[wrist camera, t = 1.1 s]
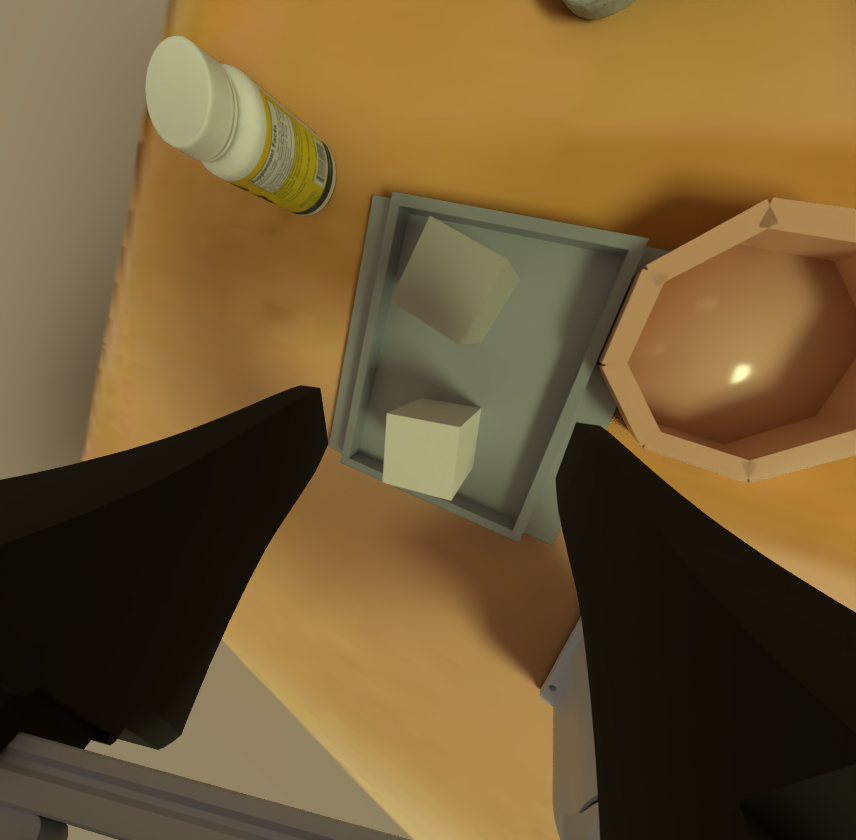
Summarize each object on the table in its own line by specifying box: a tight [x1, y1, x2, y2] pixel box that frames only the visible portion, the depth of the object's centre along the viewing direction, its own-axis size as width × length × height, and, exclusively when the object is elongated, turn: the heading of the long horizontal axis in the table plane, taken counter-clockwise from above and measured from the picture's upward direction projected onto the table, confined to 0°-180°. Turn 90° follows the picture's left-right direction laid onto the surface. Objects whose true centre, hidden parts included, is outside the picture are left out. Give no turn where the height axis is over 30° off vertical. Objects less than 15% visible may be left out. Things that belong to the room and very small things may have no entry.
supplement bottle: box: [145, 36, 336, 216], centre depth 18 cm, size 5×5×8 cm
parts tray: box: [329, 191, 671, 545], centre depth 20 cm, size 17×17×2 cm
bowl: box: [596, 197, 856, 483], centre depth 15 cm, size 11×11×3 cm
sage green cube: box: [383, 398, 481, 501], centre depth 20 cm, size 4×4×5 cm
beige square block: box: [390, 216, 520, 345], centre depth 17 cm, size 4×4×5 cm
